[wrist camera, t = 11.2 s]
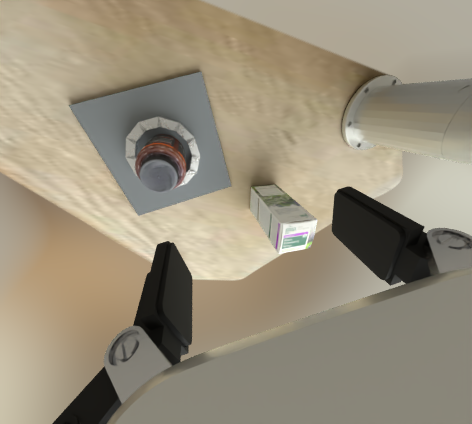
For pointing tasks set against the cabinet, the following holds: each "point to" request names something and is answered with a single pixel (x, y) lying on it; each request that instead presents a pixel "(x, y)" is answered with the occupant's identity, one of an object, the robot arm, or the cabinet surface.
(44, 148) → the cabinet surface
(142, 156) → the supplement bottle
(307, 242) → the syrup box
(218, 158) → the rubber mat
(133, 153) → the ring collar
